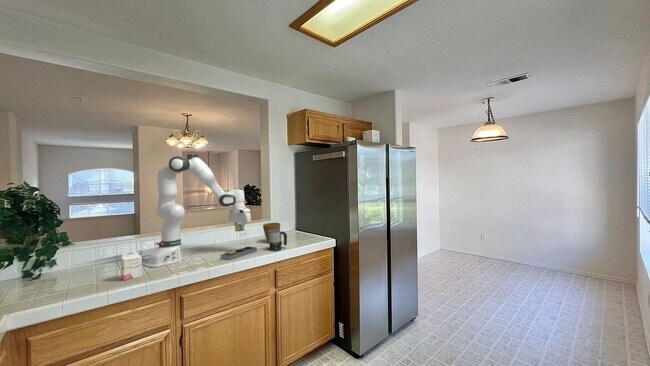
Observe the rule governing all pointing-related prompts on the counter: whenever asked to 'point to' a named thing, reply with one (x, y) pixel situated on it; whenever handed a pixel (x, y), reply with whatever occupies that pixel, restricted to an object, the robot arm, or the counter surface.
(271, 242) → the milk frother
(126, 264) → the ink cartridge box
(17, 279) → the counter surface
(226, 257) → the grey compartment tray
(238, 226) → the cage nut
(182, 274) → the counter surface
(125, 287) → the counter surface
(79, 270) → the counter surface
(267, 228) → the plant pot
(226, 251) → the nut
